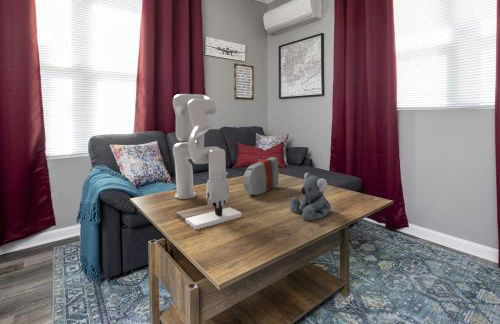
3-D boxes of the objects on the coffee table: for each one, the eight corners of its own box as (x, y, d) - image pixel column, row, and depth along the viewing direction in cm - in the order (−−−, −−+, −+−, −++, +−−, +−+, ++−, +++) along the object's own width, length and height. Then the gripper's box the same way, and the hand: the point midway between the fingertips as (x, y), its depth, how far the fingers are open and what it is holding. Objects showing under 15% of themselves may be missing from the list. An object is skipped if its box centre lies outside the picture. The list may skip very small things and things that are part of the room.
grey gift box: (270, 156, 186) (240, 167, 163) (279, 156, 182) (249, 168, 159) (272, 184, 190) (242, 199, 168) (280, 186, 186) (251, 201, 164)
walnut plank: (175, 216, 138) (175, 212, 137) (218, 205, 152) (218, 202, 152) (184, 222, 130) (184, 218, 129) (229, 210, 144) (229, 206, 144)
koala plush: (287, 210, 144) (288, 172, 141) (318, 205, 150) (319, 169, 147) (306, 222, 128) (307, 179, 125) (339, 216, 134) (341, 176, 131)
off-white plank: (185, 222, 129) (185, 218, 129) (229, 210, 144) (229, 207, 144) (195, 229, 122) (195, 225, 121) (241, 216, 136) (241, 212, 136)
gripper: (226, 172, 137) (227, 209, 140) (198, 177, 128) (200, 216, 131) (235, 175, 131) (236, 213, 134) (207, 180, 122) (208, 221, 125)
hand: (218, 215), depth 133 cm, fingers closed
